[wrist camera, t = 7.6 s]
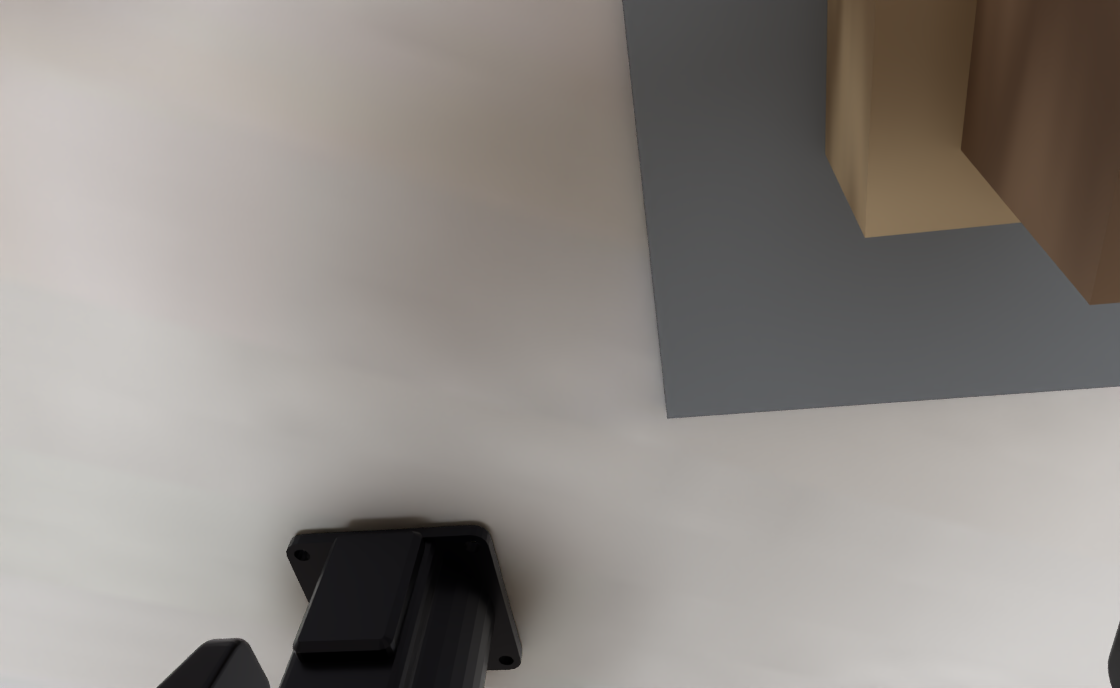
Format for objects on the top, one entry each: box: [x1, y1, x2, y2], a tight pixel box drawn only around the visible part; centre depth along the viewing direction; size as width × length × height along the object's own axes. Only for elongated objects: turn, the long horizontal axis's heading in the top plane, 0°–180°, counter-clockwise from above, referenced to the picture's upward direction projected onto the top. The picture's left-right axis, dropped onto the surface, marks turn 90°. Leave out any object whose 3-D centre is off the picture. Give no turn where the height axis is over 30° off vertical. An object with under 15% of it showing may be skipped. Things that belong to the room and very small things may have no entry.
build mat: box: [622, 0, 1120, 419], centre depth 18 cm, size 16×12×1 cm
